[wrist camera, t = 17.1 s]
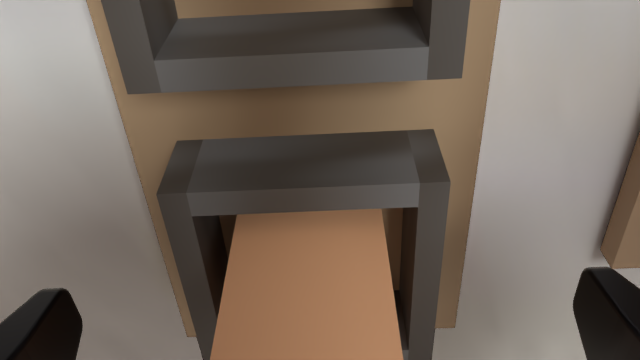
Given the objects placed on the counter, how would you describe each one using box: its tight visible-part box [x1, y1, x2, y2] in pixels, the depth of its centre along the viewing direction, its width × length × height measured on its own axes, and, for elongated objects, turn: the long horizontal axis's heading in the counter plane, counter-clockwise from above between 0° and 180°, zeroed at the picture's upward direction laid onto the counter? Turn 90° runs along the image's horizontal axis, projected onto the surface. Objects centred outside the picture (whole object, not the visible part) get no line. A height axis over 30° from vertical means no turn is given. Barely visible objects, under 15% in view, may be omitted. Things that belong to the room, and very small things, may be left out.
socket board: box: [86, 0, 501, 360], centre depth 12 cm, size 8×16×4 cm, turn 3°
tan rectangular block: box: [210, 209, 403, 360], centre depth 12 cm, size 3×3×6 cm
